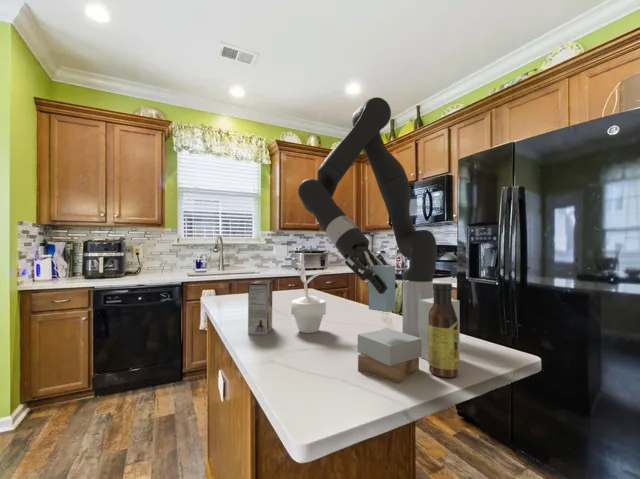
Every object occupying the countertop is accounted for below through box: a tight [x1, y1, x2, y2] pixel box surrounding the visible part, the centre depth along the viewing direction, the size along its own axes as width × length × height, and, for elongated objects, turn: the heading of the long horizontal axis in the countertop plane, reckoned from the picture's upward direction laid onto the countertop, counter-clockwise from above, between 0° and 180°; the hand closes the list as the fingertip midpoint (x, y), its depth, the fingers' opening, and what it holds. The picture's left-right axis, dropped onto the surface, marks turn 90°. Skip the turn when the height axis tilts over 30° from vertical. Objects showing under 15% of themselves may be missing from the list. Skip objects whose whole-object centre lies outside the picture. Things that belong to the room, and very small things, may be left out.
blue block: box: [368, 264, 396, 313], centre depth 72 cm, size 4×4×10 cm
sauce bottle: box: [428, 282, 460, 379], centre depth 69 cm, size 7×6×20 cm
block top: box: [357, 327, 422, 366], centre depth 70 cm, size 10×10×4 cm
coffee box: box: [247, 280, 274, 336], centre depth 102 cm, size 9×6×16 cm
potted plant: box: [290, 257, 331, 334], centre depth 103 cm, size 13×12×25 cm
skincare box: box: [419, 297, 461, 362], centre depth 78 cm, size 8×6×15 cm
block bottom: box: [357, 353, 420, 385], centre depth 70 cm, size 10×10×4 cm
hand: (389, 289), depth 71 cm, fingers closed on blue block, 4 cm apart
